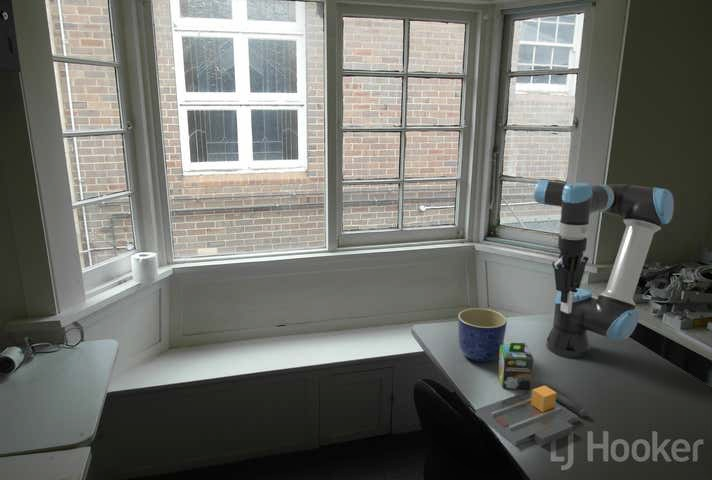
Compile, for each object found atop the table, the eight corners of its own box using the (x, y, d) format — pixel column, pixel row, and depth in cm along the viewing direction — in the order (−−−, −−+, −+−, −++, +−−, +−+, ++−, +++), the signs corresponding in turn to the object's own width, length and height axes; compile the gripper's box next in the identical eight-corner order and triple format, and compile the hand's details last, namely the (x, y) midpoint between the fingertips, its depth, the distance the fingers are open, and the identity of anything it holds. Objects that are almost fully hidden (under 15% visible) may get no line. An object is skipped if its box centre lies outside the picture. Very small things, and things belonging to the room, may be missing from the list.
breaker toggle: (531, 404, 144) (532, 389, 142) (543, 399, 146) (544, 385, 145) (542, 412, 140) (544, 397, 139) (554, 407, 142) (556, 392, 141)
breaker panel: (475, 414, 142) (476, 407, 142) (534, 393, 153) (535, 386, 152) (515, 446, 128) (516, 438, 128) (577, 420, 139) (578, 413, 138)
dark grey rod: (541, 393, 153) (541, 386, 152) (546, 391, 154) (547, 384, 153) (582, 419, 139) (583, 412, 139) (588, 417, 140) (588, 410, 140)
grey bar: (534, 441, 130) (535, 433, 130) (565, 428, 135) (566, 421, 135) (541, 446, 128) (541, 438, 128) (572, 433, 133) (573, 425, 133)
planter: (501, 371, 166) (504, 330, 162) (452, 362, 172) (454, 323, 168) (505, 349, 181) (508, 311, 177) (460, 342, 187) (462, 305, 183)
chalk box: (525, 375, 163) (528, 335, 159) (531, 390, 154) (535, 348, 150) (497, 374, 164) (500, 334, 160) (501, 388, 155) (505, 347, 151)
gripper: (568, 243, 133) (560, 320, 140) (599, 236, 139) (591, 311, 145) (546, 237, 140) (540, 311, 146) (577, 230, 145) (570, 302, 152)
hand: (565, 311), depth 146 cm, fingers closed
